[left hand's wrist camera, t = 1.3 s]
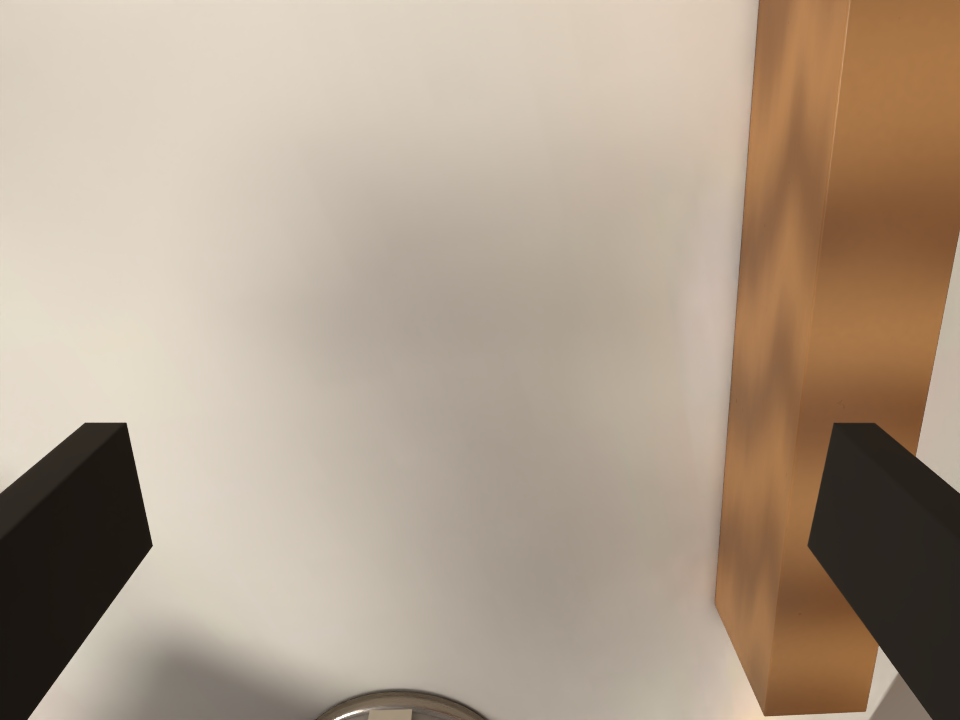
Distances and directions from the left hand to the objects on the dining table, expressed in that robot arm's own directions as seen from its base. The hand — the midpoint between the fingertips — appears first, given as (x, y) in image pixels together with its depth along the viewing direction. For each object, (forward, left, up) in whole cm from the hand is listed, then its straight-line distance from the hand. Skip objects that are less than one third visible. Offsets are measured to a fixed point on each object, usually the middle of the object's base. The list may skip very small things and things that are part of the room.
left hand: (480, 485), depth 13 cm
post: (+14, -13, -22) cm, 29 cm away
